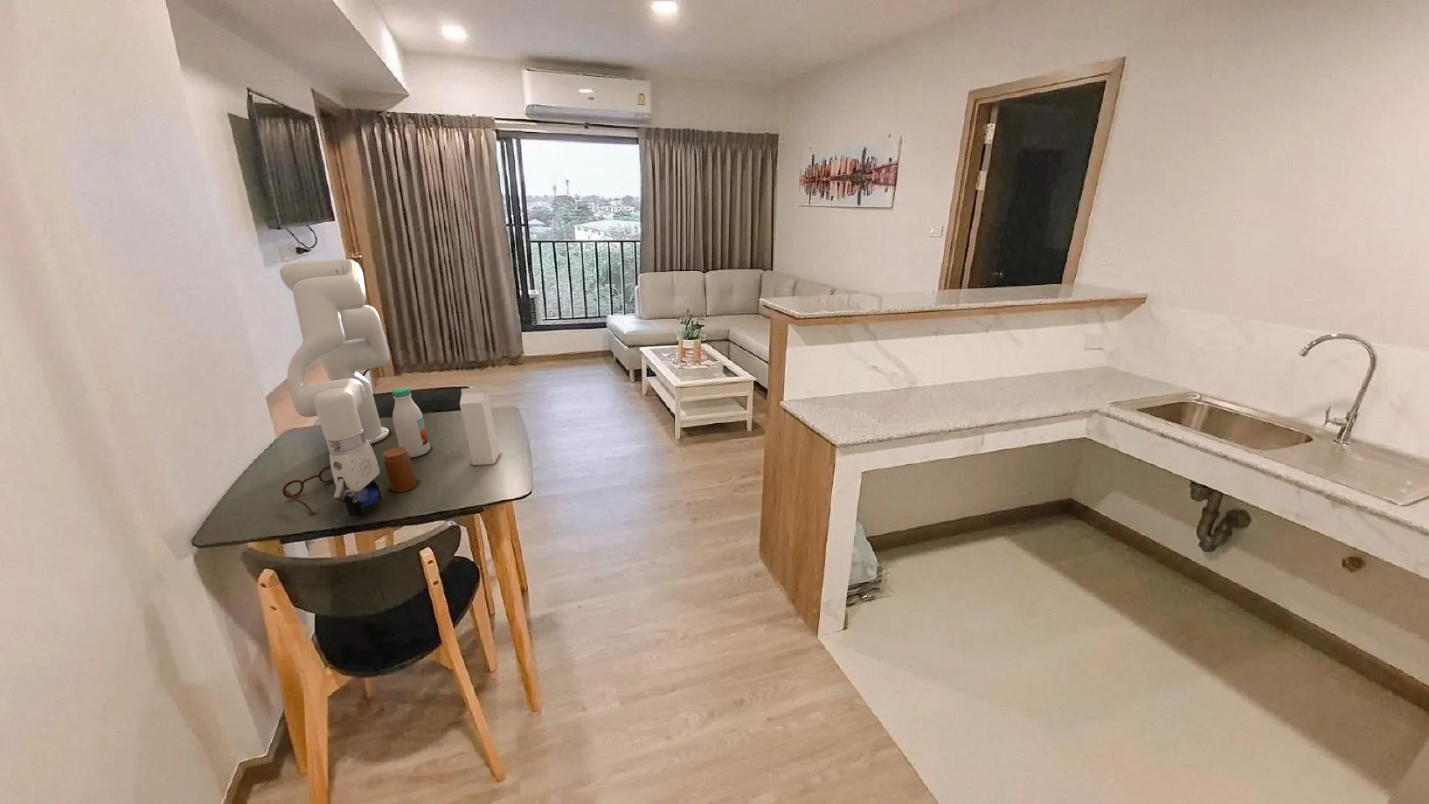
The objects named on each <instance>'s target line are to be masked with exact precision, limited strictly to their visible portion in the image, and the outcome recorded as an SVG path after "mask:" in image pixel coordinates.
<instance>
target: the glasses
mask: <svg viewBox="0 0 1429 804" xmlns="http://www.w3.org/2000/svg"><path fill="white" fill-rule="evenodd" d="M329 469H331V465H327V466H324V467H322V469H321V470H320V471H319V472H318V474H314V475H311V476H310V477H307V478H305V479H303V480H301V479H293V480H290V481H288V482H287V483H285V484H284V486H283V487H282V491H281V492H282V495H283V496H284V497H285V498H287V499H291V498H292V499H293V500H294V501H295V502H297V503H300V504H301V505H303V506H304V507H305V508H306V509H307V511H309V512H310V513H311V515H314V511H313V510H312V509H311V508H310V506H309V505H308V504H307V502H305V501H303V500H302V499H299V498H298V496H299V495H300V494H302V492H303V491H304V488H305V483H306V482H308V481H311V480H313V479H316V478H318V479H319V481H320V482H321V483H324V484H327V483H330V482H332V481H333V482H334V478H333V476H332V477H331V478H329V479H326V480H325V479H323V477H322V475H323V473H324V472H325V471H327V470H329ZM294 483H295V484H296V483H299V485H300V488H299V490H298V491H297V492H295V493H294V494H292V493H291V492H290V491H288V490H287V488H288V487H289V486H290V485H291V484H294ZM363 489H365V488H363Z"/></svg>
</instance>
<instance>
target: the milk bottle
mask: <svg viewBox="0 0 1429 804" xmlns="http://www.w3.org/2000/svg"><path fill="white" fill-rule="evenodd" d="M391 394H392V398H393V399H394V406H393V410H392V423H393V428H394V431H395V435H396V439H397V443H398V447H404V448H406V449H407V451H408V452H409V455H410V458H416V457H417V458H418V457H420V456H424V455H425V454H428V452H429V451H430V450H431V445H430V441H429V437H428V432H427V428H426V424H425V420H424V417H423V413H422V411H421V409H420V408H419V406H418V405H417V404H416V402H414V400H413V399H412V392H411V388H410V387H408V386H401V387H396V388H393V389H392V390H391Z"/></svg>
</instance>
